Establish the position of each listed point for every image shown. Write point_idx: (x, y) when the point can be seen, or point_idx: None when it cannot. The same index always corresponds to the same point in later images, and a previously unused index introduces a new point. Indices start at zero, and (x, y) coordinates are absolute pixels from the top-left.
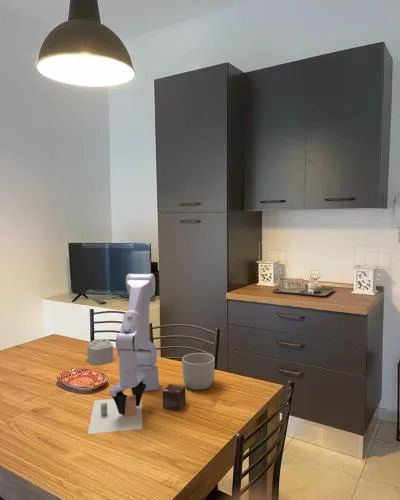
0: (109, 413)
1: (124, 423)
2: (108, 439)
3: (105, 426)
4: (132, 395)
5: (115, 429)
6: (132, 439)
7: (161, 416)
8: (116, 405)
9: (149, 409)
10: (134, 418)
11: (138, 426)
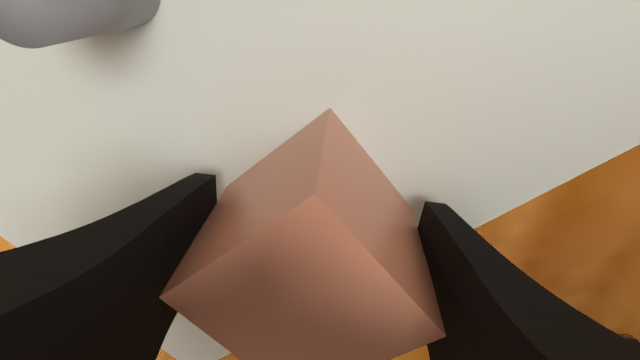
0: (182, 26)
1: None
2: (6, 240)
3: (15, 169)
4: (406, 312)
5: None
6: None
7: (422, 355)
8: (126, 211)
9: None
10: None
11: (197, 347)
